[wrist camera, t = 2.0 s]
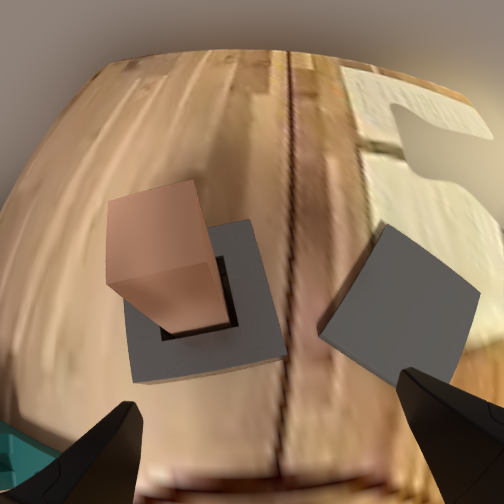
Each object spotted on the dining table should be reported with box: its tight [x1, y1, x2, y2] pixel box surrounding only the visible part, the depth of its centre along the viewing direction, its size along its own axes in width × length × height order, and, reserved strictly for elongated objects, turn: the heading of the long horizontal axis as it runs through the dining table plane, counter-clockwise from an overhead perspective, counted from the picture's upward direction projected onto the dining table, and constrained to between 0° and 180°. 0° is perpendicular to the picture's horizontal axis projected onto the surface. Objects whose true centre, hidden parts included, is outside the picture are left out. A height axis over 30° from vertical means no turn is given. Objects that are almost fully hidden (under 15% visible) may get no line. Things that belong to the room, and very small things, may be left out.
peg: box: [106, 179, 232, 339], centre depth 18 cm, size 4×4×13 cm
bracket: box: [0, 420, 62, 491], centre depth 12 cm, size 18×7×8 cm, turn 88°
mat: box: [319, 224, 481, 388], centre depth 22 cm, size 13×13×1 cm
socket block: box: [123, 219, 287, 385], centre depth 22 cm, size 11×11×4 cm
